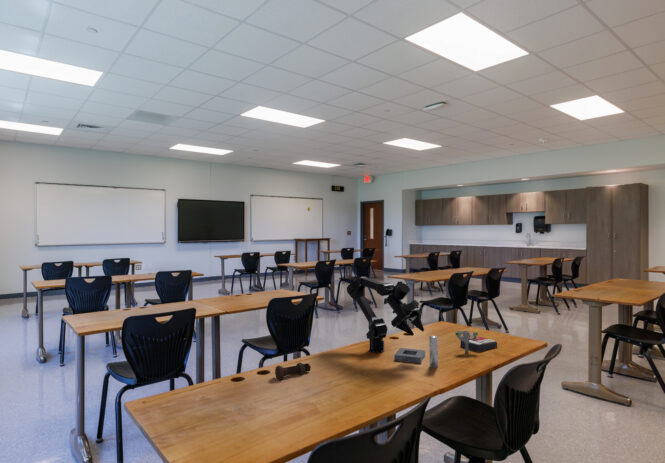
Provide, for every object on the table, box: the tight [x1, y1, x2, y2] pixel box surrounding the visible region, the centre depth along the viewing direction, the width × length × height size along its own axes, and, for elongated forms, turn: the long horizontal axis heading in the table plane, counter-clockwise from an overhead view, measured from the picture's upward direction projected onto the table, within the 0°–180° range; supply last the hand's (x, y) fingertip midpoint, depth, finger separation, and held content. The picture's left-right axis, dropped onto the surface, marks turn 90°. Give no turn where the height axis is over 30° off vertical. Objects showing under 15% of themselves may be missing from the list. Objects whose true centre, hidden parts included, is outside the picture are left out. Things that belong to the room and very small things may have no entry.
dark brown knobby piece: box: [274, 362, 312, 381], centre depth 164 cm, size 6×5×15 cm
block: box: [393, 347, 426, 364], centre depth 184 cm, size 12×12×2 cm
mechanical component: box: [454, 330, 478, 354], centre depth 192 cm, size 3×10×10 cm, turn 89°
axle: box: [428, 335, 439, 369], centre depth 172 cm, size 4×4×13 cm
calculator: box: [460, 336, 498, 353], centre depth 200 cm, size 11×4×15 cm
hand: (418, 333), depth 177 cm, fingers open, 9 cm apart
